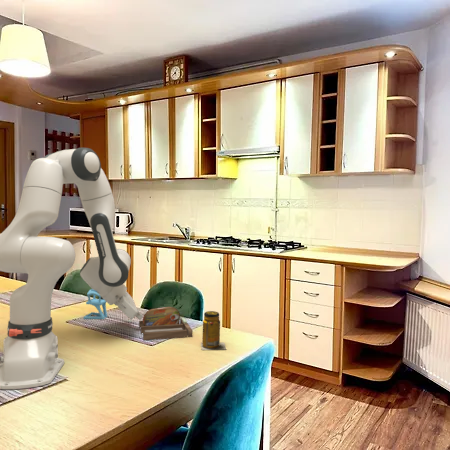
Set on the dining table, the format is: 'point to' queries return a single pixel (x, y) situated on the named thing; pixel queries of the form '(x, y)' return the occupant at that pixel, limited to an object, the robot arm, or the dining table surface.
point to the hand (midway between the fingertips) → (141, 317)
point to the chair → (97, 304)
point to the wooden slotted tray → (166, 330)
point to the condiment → (211, 332)
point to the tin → (161, 316)
